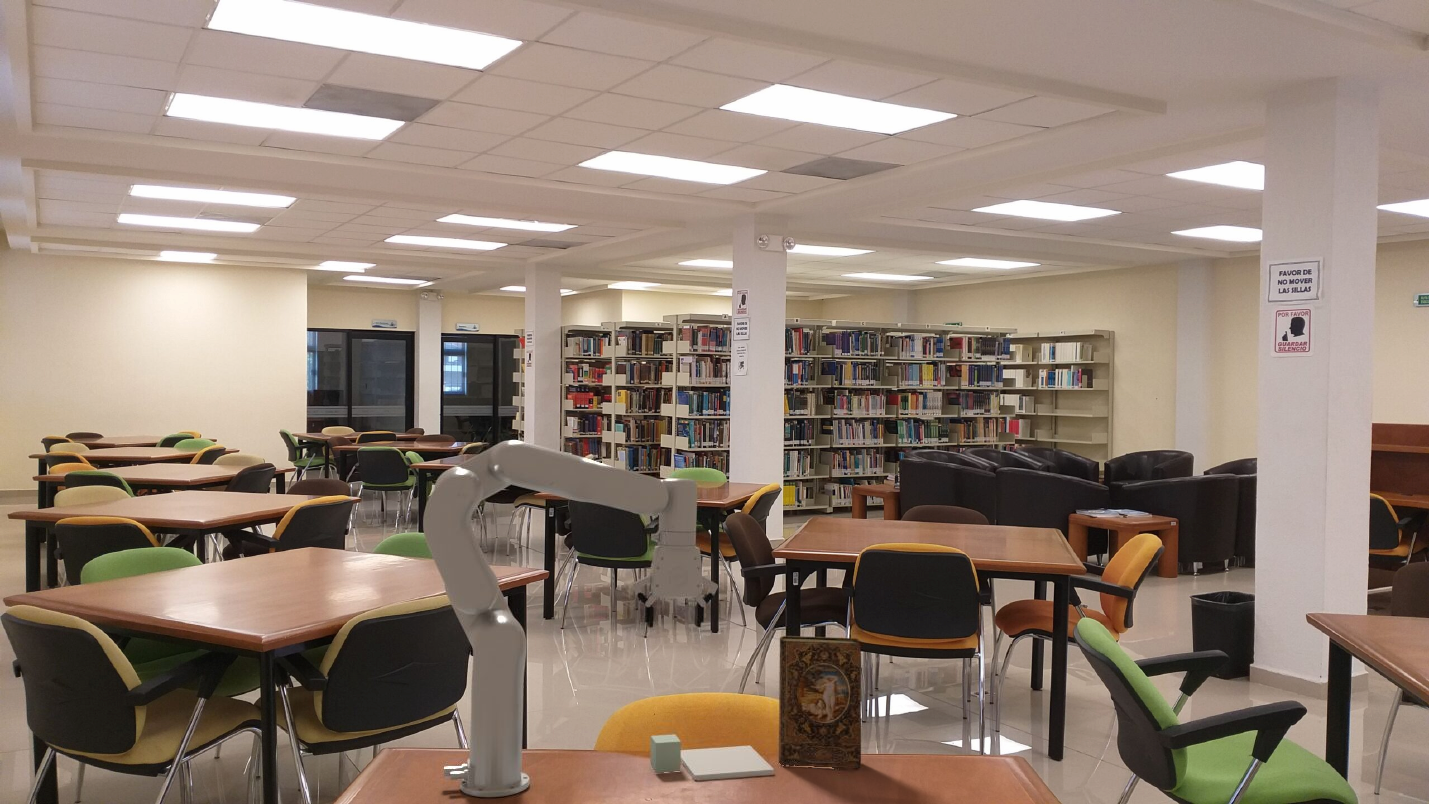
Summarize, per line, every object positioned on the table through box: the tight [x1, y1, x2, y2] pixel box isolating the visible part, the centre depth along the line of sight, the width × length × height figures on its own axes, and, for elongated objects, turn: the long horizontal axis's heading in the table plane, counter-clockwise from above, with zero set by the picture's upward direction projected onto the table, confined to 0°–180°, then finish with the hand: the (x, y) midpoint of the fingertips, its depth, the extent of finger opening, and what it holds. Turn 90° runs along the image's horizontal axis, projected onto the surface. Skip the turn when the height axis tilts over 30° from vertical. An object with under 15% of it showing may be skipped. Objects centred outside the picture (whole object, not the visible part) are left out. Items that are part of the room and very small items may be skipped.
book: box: [778, 635, 862, 771], centre depth 196 cm, size 16×6×25 cm, turn 84°
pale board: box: [681, 745, 775, 781], centre depth 195 cm, size 16×16×1 cm
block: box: [649, 733, 682, 774], centre depth 192 cm, size 5×5×6 cm
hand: (673, 626), depth 193 cm, fingers open, 9 cm apart
